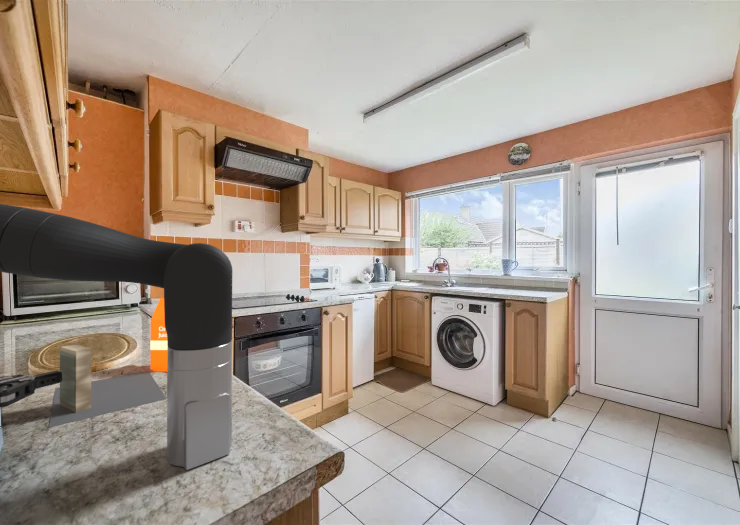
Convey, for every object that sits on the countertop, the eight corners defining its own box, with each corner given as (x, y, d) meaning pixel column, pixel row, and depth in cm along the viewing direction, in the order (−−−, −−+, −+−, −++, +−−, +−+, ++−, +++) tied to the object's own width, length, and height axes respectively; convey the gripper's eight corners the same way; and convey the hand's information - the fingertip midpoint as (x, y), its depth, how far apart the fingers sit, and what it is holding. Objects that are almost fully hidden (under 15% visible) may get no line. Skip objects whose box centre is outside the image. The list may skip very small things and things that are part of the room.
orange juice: (181, 371, 89) (181, 299, 89) (149, 371, 89) (150, 299, 89) (196, 362, 97) (197, 296, 97) (167, 362, 97) (168, 296, 97)
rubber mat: (166, 402, 69) (166, 398, 69) (48, 431, 57) (48, 427, 57) (148, 373, 87) (148, 370, 87) (55, 391, 75) (55, 388, 75)
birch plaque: (74, 413, 62) (75, 351, 62) (59, 405, 66) (59, 347, 66) (91, 407, 65) (91, 348, 65) (75, 400, 68) (75, 344, 68)
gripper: (-83, 395, 45) (76, 361, 60) (-102, 379, 51) (46, 352, 66) (-83, 449, 45) (76, 401, 60) (-102, 426, 51) (46, 388, 66)
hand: (60, 376), depth 63 cm, fingers closed
